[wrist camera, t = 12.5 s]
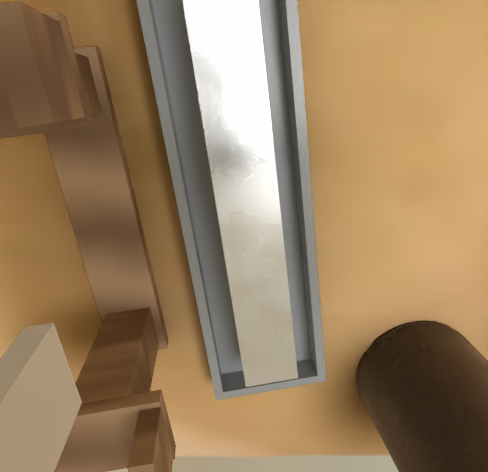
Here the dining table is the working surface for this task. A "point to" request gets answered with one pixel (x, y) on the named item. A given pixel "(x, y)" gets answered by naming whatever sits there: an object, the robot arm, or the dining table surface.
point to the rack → (93, 239)
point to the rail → (244, 180)
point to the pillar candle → (428, 398)
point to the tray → (202, 194)
